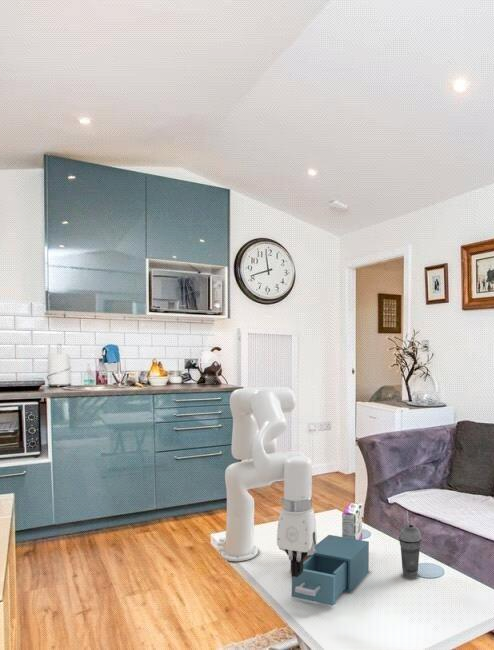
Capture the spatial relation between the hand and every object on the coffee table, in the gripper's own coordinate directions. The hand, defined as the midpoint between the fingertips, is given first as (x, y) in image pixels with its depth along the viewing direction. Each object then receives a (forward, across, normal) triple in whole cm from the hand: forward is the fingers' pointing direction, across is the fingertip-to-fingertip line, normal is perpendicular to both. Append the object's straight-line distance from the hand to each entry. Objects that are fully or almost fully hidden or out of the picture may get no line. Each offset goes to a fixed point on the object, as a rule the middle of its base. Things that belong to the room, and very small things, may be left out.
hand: (296, 574), depth 131 cm
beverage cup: (+12, +20, +37) cm, 44 cm away
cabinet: (+12, 0, +27) cm, 29 cm away
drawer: (+11, 0, +14) cm, 18 cm away
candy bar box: (+12, -3, +43) cm, 44 cm away
